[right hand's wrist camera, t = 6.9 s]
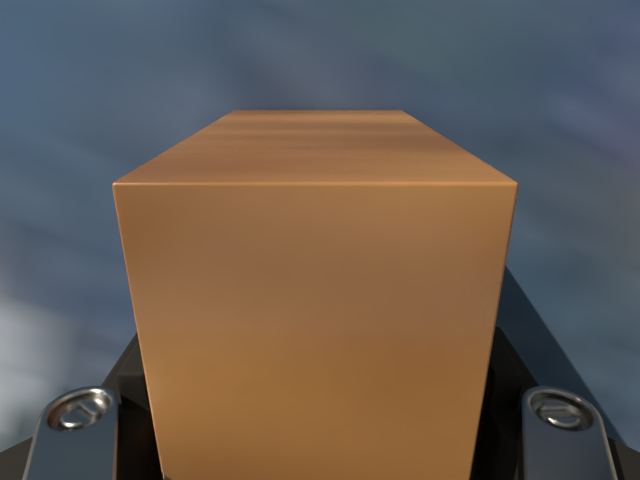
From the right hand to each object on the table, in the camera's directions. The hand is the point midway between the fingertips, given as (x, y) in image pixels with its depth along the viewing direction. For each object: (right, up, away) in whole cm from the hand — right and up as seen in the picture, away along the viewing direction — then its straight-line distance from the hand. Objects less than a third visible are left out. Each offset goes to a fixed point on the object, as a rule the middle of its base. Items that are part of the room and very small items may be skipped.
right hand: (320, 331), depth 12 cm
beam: (0, -31, +16) cm, 35 cm away
